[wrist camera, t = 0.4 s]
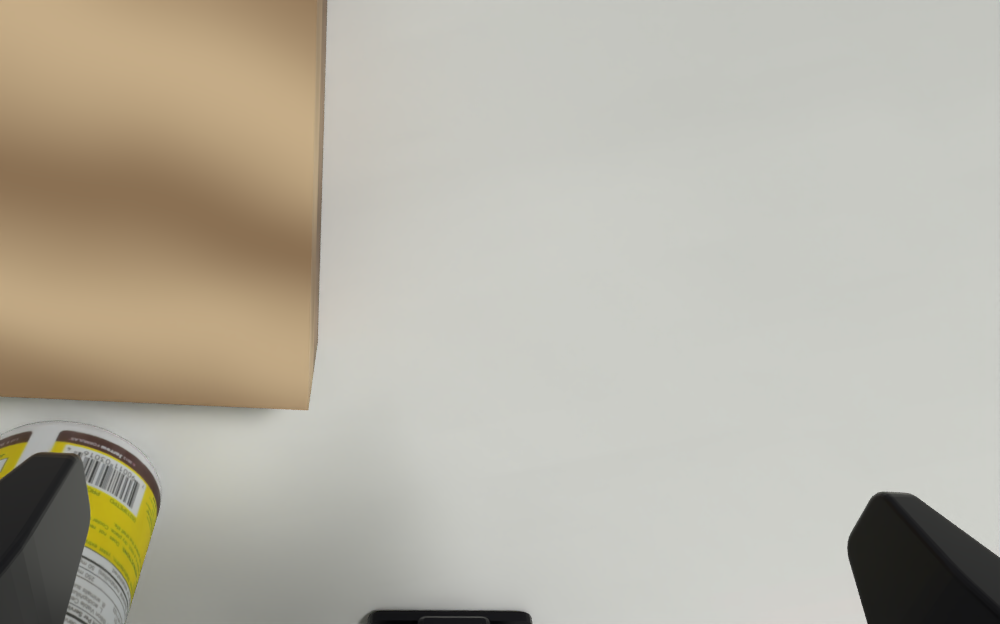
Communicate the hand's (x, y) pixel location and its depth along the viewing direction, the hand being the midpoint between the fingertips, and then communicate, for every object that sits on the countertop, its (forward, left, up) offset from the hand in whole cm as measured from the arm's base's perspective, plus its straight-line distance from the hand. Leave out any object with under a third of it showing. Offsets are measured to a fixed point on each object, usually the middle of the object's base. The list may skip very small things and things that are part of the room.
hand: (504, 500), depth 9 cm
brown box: (-3, +9, -14) cm, 16 cm away
